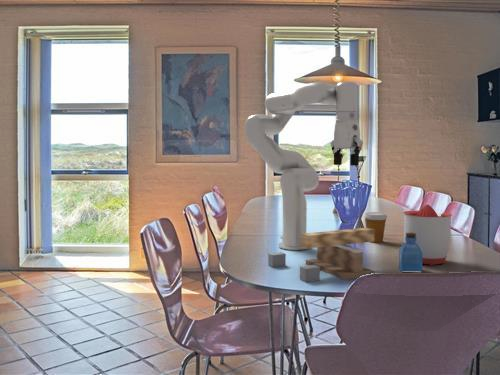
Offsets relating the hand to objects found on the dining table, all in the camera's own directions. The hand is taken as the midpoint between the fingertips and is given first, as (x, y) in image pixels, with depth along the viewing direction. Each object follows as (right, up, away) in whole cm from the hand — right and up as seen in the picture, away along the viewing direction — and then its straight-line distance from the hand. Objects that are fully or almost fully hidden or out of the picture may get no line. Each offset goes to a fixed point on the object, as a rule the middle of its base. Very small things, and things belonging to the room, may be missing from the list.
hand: (345, 165), depth 167 cm
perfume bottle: (+17, -35, -18) cm, 43 cm away
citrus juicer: (+27, -34, -5) cm, 44 cm away
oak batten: (-6, -26, -18) cm, 32 cm away
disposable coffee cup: (+19, -31, +30) cm, 47 cm away
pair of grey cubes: (-21, -35, -20) cm, 46 cm away
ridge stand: (-6, -35, -17) cm, 39 cm away
